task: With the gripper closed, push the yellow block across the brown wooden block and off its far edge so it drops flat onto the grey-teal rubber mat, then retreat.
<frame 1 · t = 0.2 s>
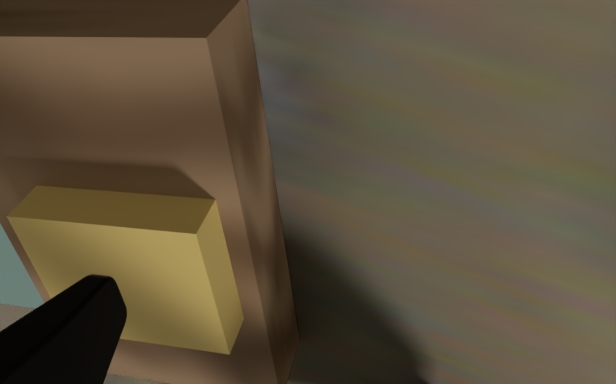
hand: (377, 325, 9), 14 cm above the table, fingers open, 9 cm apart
yellow block: (145, 255, 25), point 4 cm above the table, touching brown wooden block
brown wooden block: (163, 197, 28), on the table
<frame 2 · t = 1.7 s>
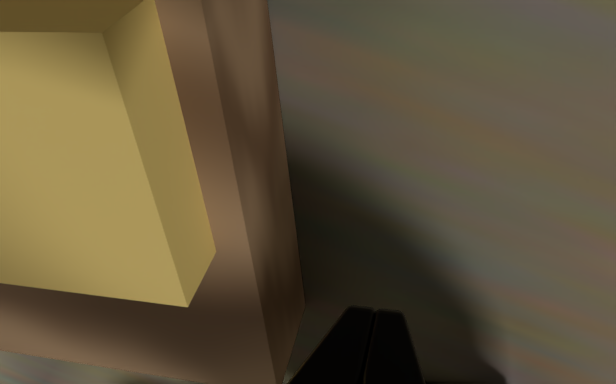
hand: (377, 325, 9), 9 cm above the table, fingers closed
yellow block: (43, 134, 14), point 4 cm above the table, touching brown wooden block
brown wooden block: (90, 65, 18), on the table
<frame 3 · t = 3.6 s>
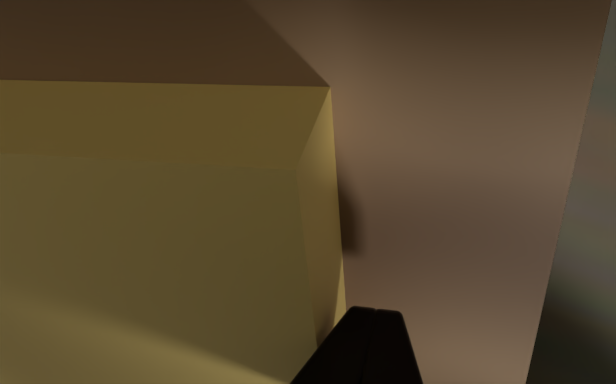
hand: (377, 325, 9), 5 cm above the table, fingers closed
yellow block: (135, 250, 11), point 4 cm above the table, touching gripper
brown wooden block: (261, 146, 14), on the table
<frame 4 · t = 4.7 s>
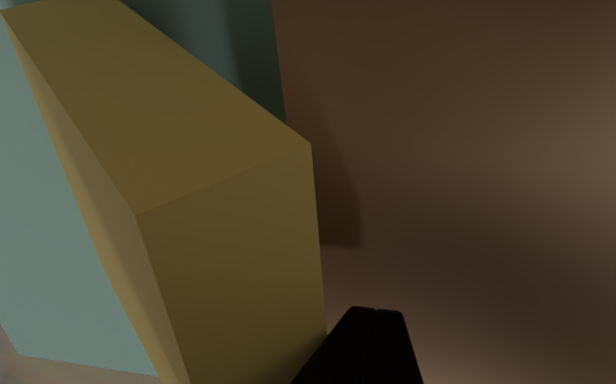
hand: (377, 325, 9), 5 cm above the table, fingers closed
yellow block: (211, 212, 11), point 3 cm above the table, tilted 44°, touching gripper
mat: (88, 136, 15), on the table
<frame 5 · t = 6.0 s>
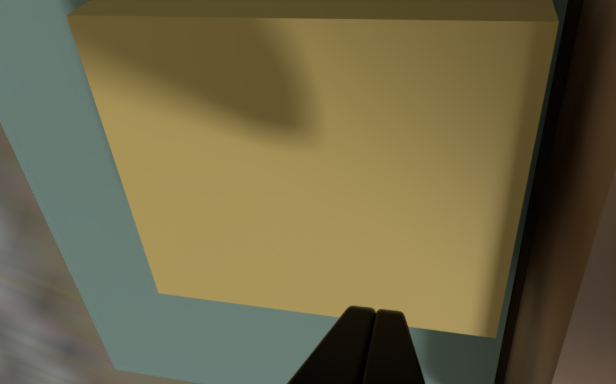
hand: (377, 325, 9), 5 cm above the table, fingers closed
yellow block: (325, 140, 13), resting on mat
mat: (245, 142, 13), on the table
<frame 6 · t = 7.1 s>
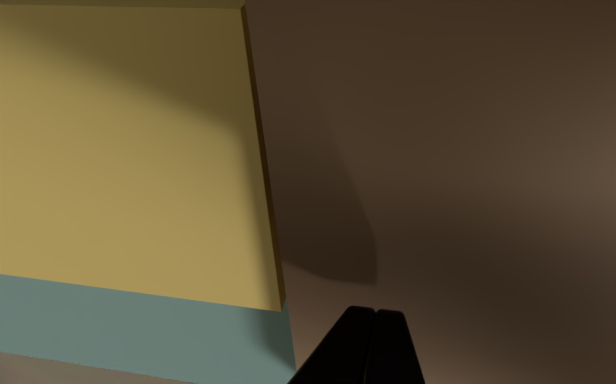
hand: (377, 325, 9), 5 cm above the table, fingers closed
yellow block: (123, 123, 13), resting on mat
mat: (59, 126, 14), on the table
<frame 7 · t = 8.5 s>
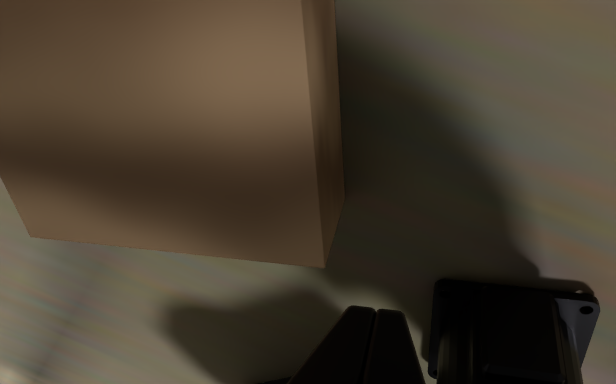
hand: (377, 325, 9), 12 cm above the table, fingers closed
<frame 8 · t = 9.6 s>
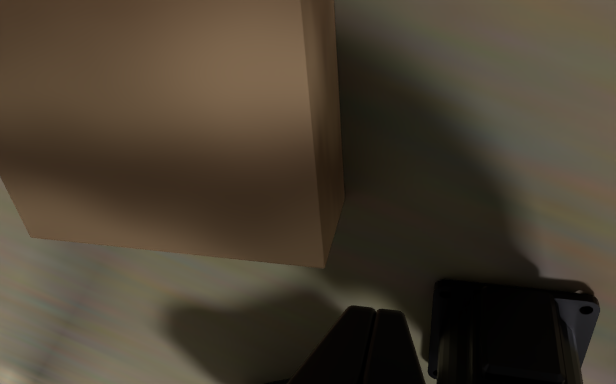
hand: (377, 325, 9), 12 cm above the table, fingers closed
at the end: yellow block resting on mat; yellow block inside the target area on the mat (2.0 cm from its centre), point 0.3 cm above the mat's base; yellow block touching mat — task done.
